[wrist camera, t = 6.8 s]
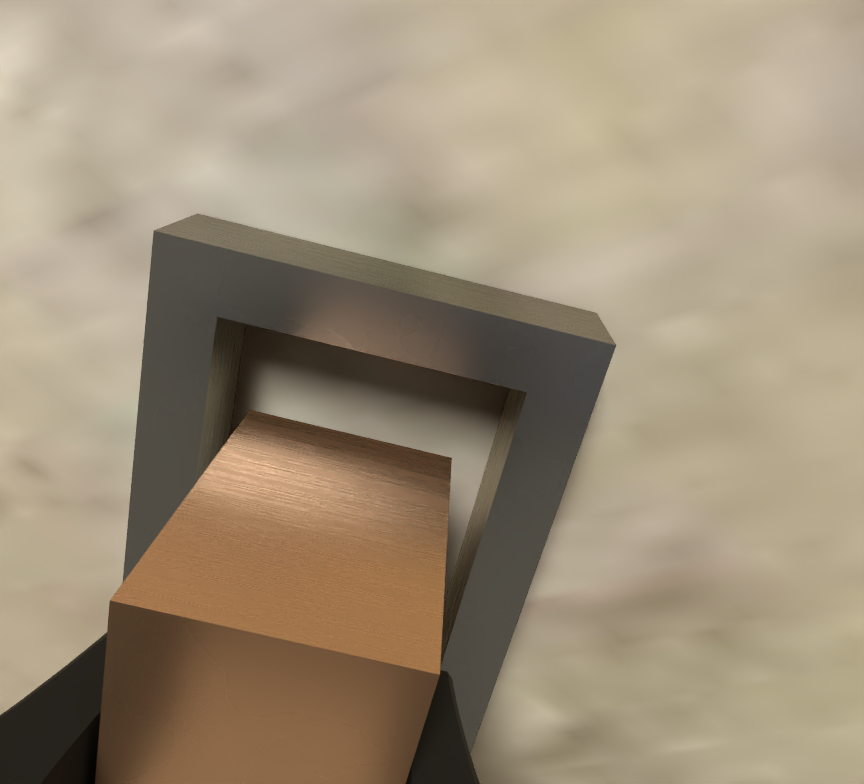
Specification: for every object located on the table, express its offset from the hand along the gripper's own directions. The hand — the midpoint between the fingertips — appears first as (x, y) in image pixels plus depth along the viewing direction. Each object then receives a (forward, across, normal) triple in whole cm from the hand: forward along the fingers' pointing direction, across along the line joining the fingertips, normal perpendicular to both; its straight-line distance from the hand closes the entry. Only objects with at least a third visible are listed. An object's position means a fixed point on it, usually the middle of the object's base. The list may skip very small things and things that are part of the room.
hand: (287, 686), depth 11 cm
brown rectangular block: (+2, 0, 0) cm, 2 cm away
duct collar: (+5, 0, 0) cm, 5 cm away
